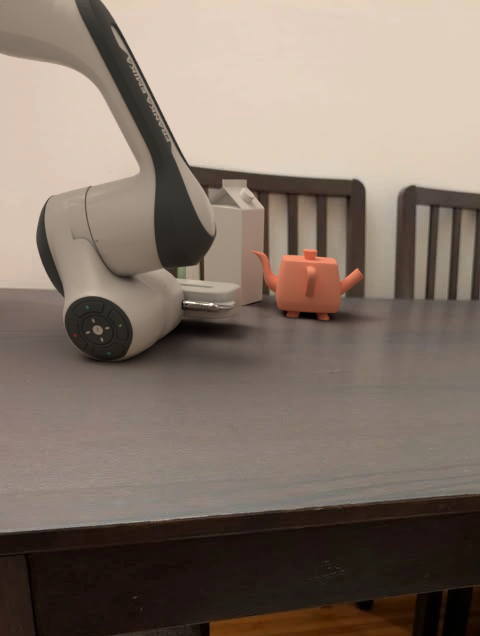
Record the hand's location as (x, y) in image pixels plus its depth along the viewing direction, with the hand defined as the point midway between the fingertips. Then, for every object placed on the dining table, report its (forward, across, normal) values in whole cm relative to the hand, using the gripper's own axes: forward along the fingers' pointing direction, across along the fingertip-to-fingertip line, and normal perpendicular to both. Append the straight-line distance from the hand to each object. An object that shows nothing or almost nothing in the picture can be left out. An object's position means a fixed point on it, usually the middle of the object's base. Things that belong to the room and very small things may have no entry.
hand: (177, 285), depth 102 cm
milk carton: (+21, -4, +6) cm, 22 cm away
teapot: (+15, -17, +6) cm, 23 cm away
